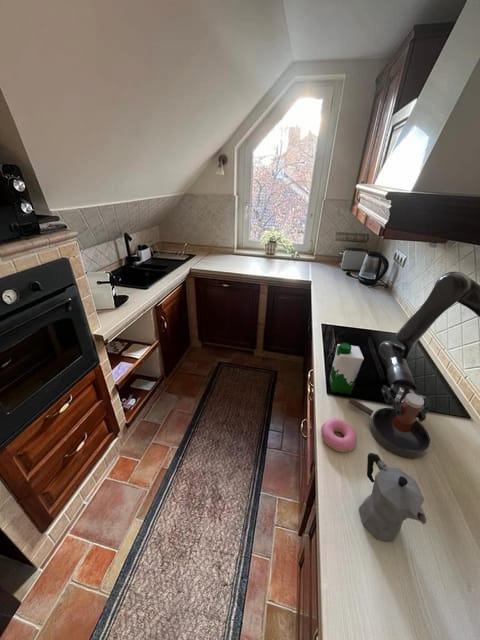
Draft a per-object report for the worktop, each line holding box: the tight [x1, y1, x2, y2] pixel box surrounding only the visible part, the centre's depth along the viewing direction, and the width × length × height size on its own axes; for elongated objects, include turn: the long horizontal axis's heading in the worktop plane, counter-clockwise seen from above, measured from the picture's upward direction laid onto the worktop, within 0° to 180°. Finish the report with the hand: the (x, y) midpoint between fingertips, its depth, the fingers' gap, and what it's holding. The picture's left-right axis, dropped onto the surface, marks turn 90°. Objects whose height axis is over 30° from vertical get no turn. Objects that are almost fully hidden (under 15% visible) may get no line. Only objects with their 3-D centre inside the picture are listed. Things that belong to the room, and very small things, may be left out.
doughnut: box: [320, 417, 358, 453], centre depth 80 cm, size 11×11×4 cm
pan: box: [369, 407, 431, 460], centre depth 82 cm, size 16×16×4 cm
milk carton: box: [328, 342, 365, 395], centre depth 96 cm, size 9×9×20 cm
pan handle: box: [347, 397, 374, 417], centre depth 90 cm, size 8×2×1 cm, turn 44°
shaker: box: [392, 393, 424, 432], centre depth 78 cm, size 5×5×12 cm
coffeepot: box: [358, 452, 427, 543], centre depth 59 cm, size 15×9×18 cm, turn 16°
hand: (411, 416), depth 75 cm, fingers closed on shaker, 5 cm apart
